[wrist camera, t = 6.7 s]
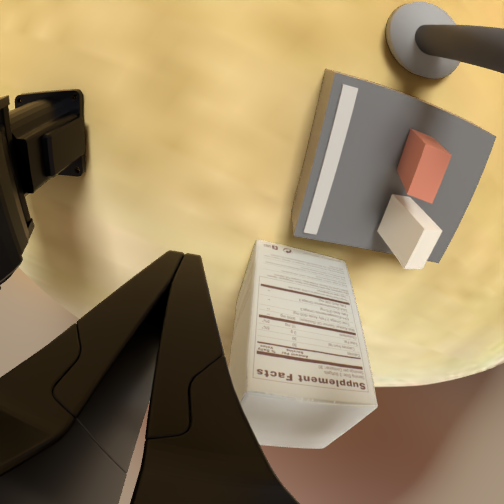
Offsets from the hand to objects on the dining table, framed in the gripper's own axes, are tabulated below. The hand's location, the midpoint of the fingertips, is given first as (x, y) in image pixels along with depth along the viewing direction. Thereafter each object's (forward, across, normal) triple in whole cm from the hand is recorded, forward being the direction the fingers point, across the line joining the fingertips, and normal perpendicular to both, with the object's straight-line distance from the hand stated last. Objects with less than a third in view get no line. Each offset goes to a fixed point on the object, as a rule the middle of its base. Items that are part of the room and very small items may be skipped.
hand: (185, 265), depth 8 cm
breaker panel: (+13, -10, 0) cm, 16 cm away
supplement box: (+13, -6, +11) cm, 18 cm away
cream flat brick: (+10, -10, +2) cm, 14 cm away
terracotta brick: (+10, -10, -2) cm, 14 cm away
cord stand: (+13, -10, -9) cm, 19 cm away
